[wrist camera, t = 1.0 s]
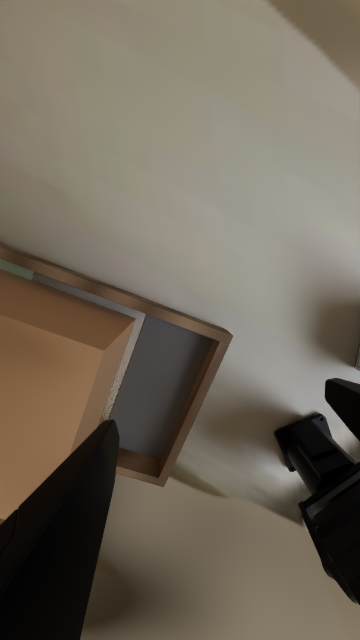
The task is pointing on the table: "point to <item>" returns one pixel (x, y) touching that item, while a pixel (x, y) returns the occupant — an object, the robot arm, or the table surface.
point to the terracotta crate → (50, 379)
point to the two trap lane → (148, 372)
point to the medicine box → (358, 361)
